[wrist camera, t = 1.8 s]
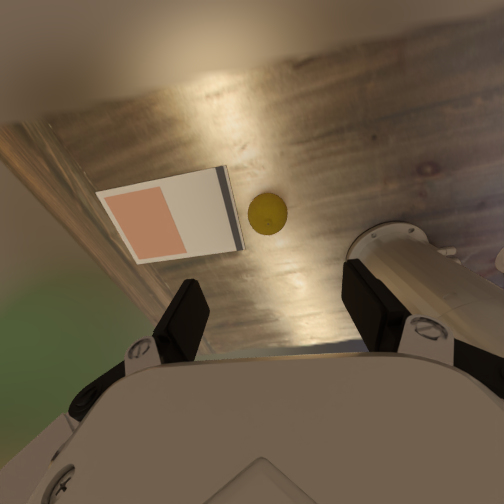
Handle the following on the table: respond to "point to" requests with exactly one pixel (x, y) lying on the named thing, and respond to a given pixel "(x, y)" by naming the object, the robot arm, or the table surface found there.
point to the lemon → (267, 214)
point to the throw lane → (176, 216)
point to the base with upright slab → (500, 261)
